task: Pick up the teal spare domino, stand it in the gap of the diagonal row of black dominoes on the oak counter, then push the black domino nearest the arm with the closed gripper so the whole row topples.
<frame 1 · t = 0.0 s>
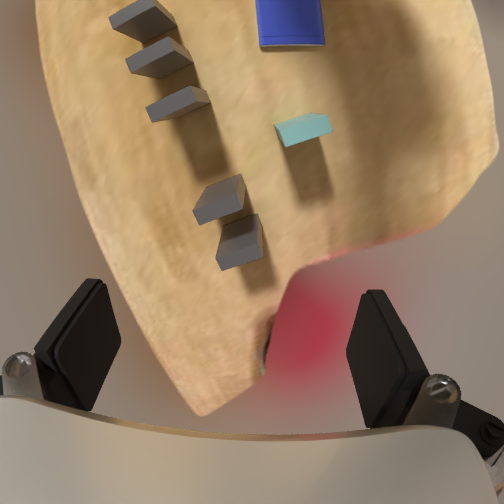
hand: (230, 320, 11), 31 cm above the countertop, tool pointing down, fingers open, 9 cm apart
tile 1: (157, 29, 30), on the countertop
tile 2: (173, 65, 33), on the countertop
hard drive: (287, 6, 29), on the countertop
tile 5: (225, 186, 40), on the countertop
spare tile: (295, 125, 36), on the countertop
tile 6: (242, 225, 43), on the countertop
tile 3: (190, 104, 35), on the countertop
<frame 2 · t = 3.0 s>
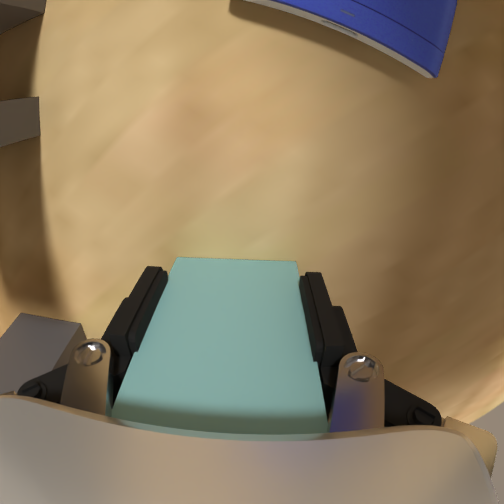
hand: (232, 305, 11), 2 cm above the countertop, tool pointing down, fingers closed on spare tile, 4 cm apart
tile 2: (10, 14, 7), on the countertop
tile 5: (53, 329, 15), on the countertop
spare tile: (235, 277, 13), on the countertop, touching gripper
tile 3: (4, 125, 10), on the countertop
when the fingers open (3 cm above the countertop, at t = 8.3 s): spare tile stays where it is, on the countertop.
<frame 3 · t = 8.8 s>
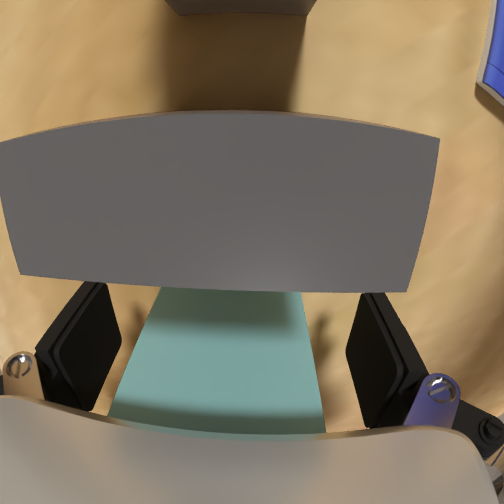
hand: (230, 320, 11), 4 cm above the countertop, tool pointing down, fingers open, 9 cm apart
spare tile: (235, 266, 14), on the countertop
tile 3: (238, 131, 11), on the countertop
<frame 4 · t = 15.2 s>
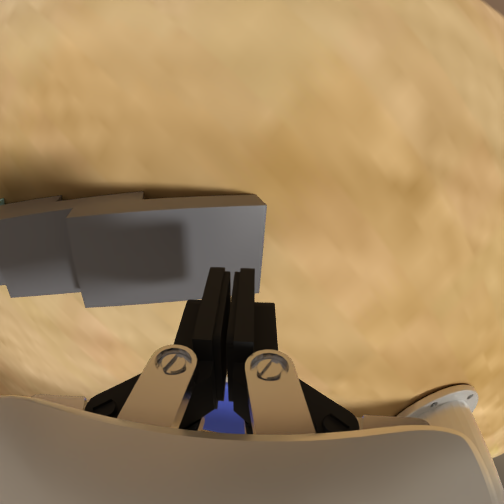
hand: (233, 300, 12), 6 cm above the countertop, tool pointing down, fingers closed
tile 1: (257, 244, 16), point 1 cm above the countertop, tilted 73°
tile 2: (146, 238, 16), point 1 cm above the countertop, tilted 72°, touching tile 3
hard drive: (233, 400, 25), on the countertop
tile 3: (64, 237, 16), point 1 cm above the countertop, tilted 72°, touching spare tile, tile 2
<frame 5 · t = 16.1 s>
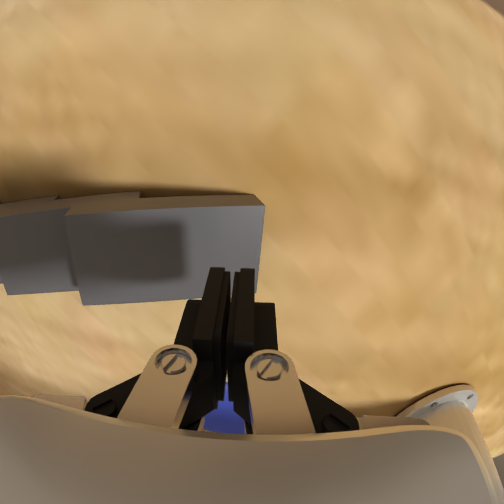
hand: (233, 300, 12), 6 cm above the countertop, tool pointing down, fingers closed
tile 1: (255, 244, 16), point 1 cm above the countertop, tilted 73°, touching tile 2
tile 2: (142, 238, 16), point 1 cm above the countertop, tilted 72°, touching tile 1, tile 3
hard drive: (234, 400, 25), on the countertop
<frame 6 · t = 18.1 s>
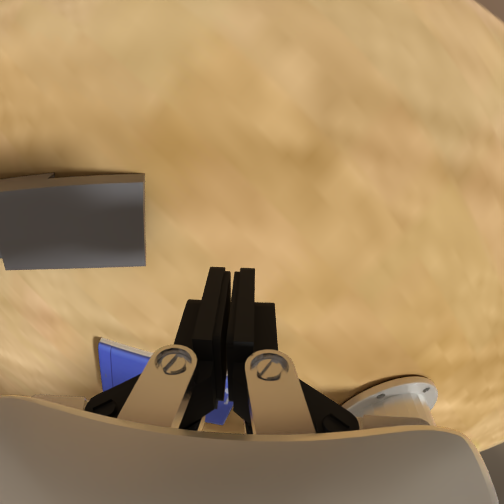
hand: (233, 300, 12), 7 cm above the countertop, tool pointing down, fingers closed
tile 1: (144, 220, 17), point 1 cm above the countertop, tilted 74°, touching tile 2
hard drive: (168, 378, 26), on the countertop
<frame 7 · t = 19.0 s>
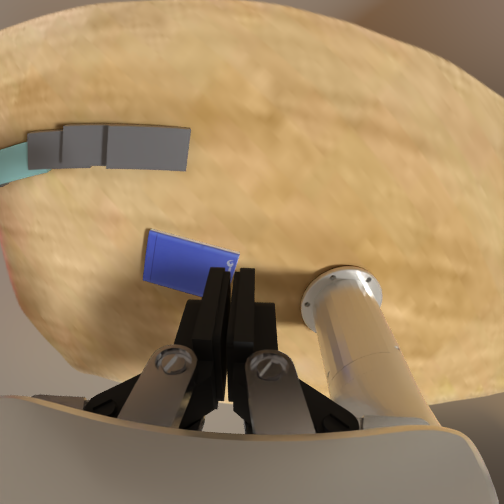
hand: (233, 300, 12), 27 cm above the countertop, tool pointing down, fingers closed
tile 1: (187, 149, 34), point 1 cm above the countertop, tilted 74°, touching tile 2
tile 2: (136, 145, 34), point 1 cm above the countertop, tilted 74°, touching tile 1
hard drive: (190, 263, 43), on the countertop
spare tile: (46, 153, 33), point 1 cm above the countertop, tilted 72°, touching tile 3
tile 3: (92, 147, 34), point 1 cm above the countertop, tilted 75°, touching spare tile
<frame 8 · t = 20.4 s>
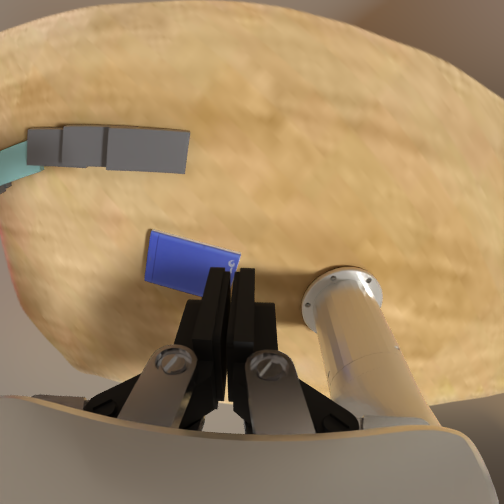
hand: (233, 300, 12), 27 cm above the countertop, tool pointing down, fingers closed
tile 1: (186, 152, 34), point 1 cm above the countertop, tilted 74°, touching tile 2
tile 2: (135, 146, 34), point 1 cm above the countertop, tilted 74°, touching tile 1, tile 3
hard drive: (191, 263, 43), on the countertop
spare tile: (39, 153, 34), point 1 cm above the countertop, tilted 70°, touching tile 3
tile 3: (89, 148, 34), point 1 cm above the countertop, tilted 78°, touching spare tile, tile 2
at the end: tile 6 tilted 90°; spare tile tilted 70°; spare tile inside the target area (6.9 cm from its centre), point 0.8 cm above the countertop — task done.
